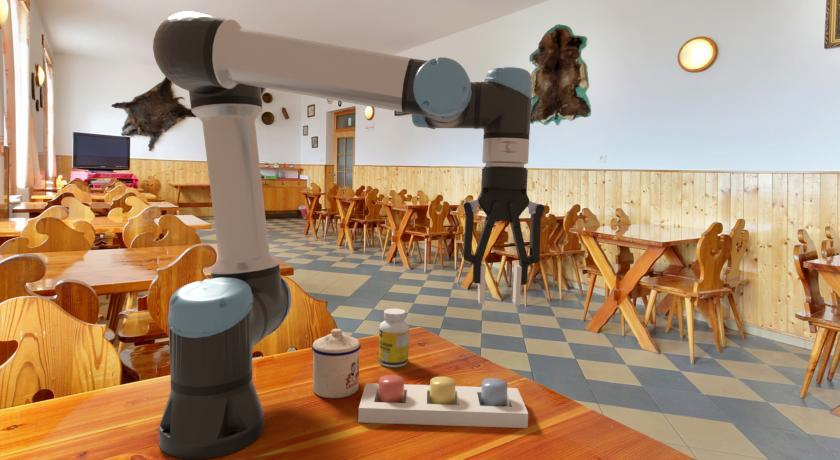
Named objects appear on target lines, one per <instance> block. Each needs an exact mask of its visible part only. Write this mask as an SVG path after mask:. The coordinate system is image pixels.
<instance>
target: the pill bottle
mask: <svg viewBox="0 0 840 460" xmlns="http://www.w3.org/2000/svg"><path fill="white" fill-rule="evenodd" d="M383 318H384V320H383V321H382V322H381V323H380V324H379V331H378V333H379V336H378V363H379V364H380V365H381V366H384V367H387V368H400V367H404V366H405V365H407V364H408V361H409V343H410V341H409V340H410V339H409V338H410V326H409V324H408V322H407V321H406V320H405V319H406V310H405V309H401V308H387V309H384V311H383Z"/></svg>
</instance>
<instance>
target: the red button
mask: <svg viewBox="0 0 840 460" xmlns="http://www.w3.org/2000/svg"><path fill="white" fill-rule="evenodd" d="M378 383H379V394H378V400H379V402H385V403H402V402H403V400H404V384H405V379H404V377H402V376H401V375H397V374H385V375H382V376H380V377H379V378H378Z"/></svg>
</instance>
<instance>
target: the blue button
mask: <svg viewBox="0 0 840 460" xmlns="http://www.w3.org/2000/svg"><path fill="white" fill-rule="evenodd" d="M508 385H509V384H508V383H507V381H505V380H504V379H501V378H496V377H490V378H484V379H483V380H482V381H481V387H482V393H481V403H482V405H484V406H502V407H506V405H507V388H508Z"/></svg>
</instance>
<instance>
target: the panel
mask: <svg viewBox="0 0 840 460" xmlns="http://www.w3.org/2000/svg"><path fill="white" fill-rule="evenodd" d="M481 393H482V386H469V385H468V386H464V385H459V386H458V385H456V386H455V403H454V405H444V404H431V403H430V384H405V383H404V400H403V402H402V403H385V402H379V400H378V394H379V382H378V383H377V382H375V383H374V382H365V385H364V389H363V392H362V396H361V398H360V402H359V406H358V417H357V418H358V421H357V423H370V424H392V425H394V424H397V425H399V424H400V425H401V424H402V425H425V426H427V425H428V426H431V425H432V426H452V427H455V426H456V427H457V426H458V427H484V428H485V427H486V428H508V429H509V428H514V429H517V428H518V429H528V428H529V427H528V426H529V412H528V410H527V407H526V404H525V403H524V400H523V398H522V396H521V393H520V390H519V389H518V387H507V405H506V406H505V407H502V406H484V405H482V403H481Z"/></svg>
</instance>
